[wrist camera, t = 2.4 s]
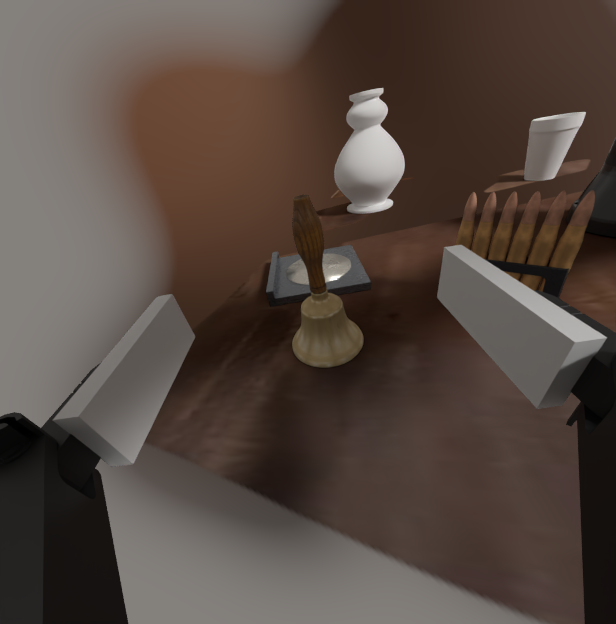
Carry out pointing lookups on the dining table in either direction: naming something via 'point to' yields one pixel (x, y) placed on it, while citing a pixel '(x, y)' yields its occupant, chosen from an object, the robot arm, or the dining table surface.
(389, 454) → the dining table surface
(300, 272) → the plate
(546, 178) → the foam cup
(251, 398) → the dining table surface
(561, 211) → the ammunition clip
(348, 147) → the decorative vase
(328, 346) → the hand bell
